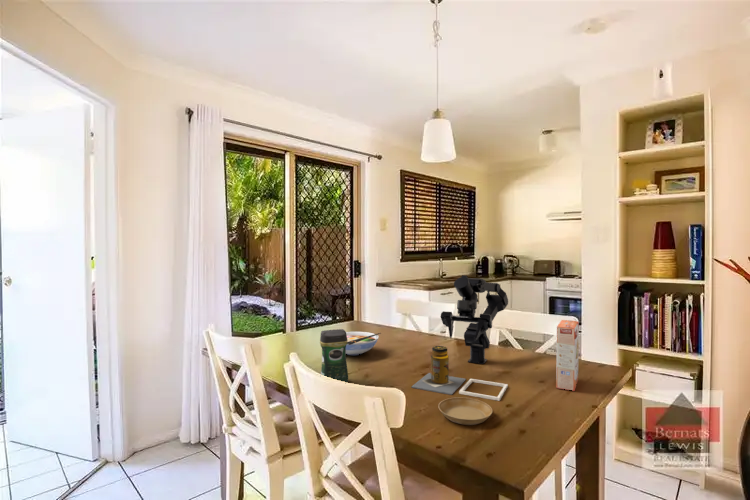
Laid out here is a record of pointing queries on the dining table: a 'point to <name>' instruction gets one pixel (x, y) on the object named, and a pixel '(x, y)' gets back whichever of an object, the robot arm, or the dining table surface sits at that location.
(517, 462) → the dining table surface
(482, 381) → the ceramic frame
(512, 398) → the dining table surface
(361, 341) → the ramen bowl
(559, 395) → the dining table surface
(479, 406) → the plant saucer
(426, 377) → the rubber mat
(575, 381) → the cracker box
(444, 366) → the condiment
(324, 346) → the coffee jar
